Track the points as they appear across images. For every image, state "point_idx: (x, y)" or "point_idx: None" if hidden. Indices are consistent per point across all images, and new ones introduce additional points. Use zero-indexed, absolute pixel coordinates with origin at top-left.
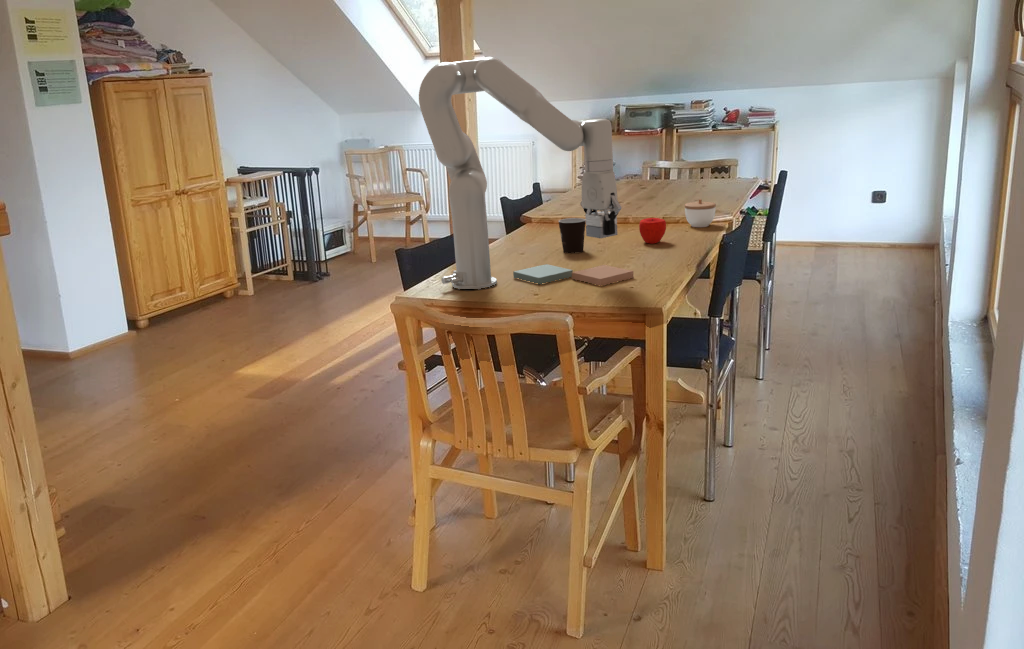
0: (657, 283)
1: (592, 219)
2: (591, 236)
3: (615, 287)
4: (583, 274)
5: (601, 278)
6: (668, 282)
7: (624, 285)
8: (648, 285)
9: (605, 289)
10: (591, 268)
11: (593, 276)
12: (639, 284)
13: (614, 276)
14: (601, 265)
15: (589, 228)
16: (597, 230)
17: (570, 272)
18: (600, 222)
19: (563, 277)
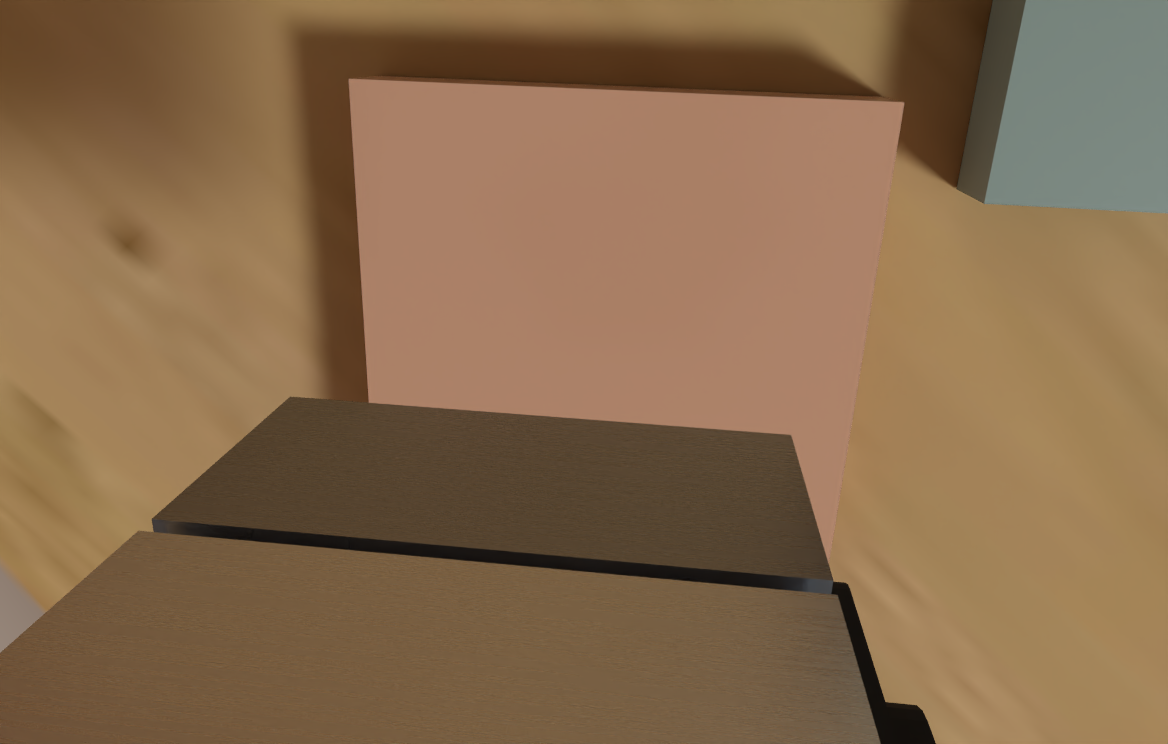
0: (106, 478)
1: (429, 712)
2: (602, 423)
3: (236, 144)
4: (686, 115)
5: (358, 106)
6: (77, 548)
7: (240, 259)
8: (97, 386)
9: (238, 11)
10: (827, 393)
11: (509, 120)
12: (178, 368)
13: (367, 295)
14: (830, 551)
15: (661, 526)
16: (320, 482)
17: (984, 161)
18: (48, 630)
19: (992, 32)
